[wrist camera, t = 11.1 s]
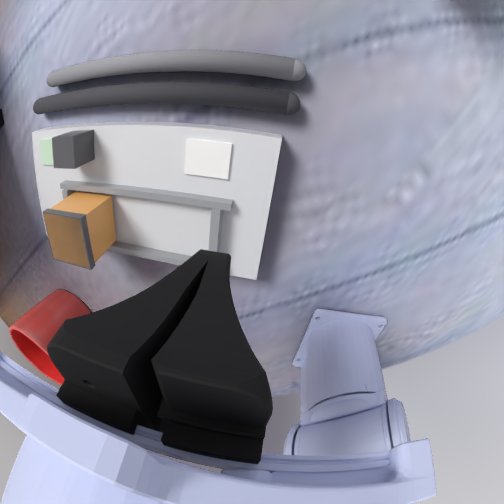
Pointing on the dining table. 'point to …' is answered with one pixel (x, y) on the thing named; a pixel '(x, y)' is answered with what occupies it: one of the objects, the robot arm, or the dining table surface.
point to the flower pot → (45, 329)
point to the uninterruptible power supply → (1, 119)
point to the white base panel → (167, 185)
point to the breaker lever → (81, 228)
